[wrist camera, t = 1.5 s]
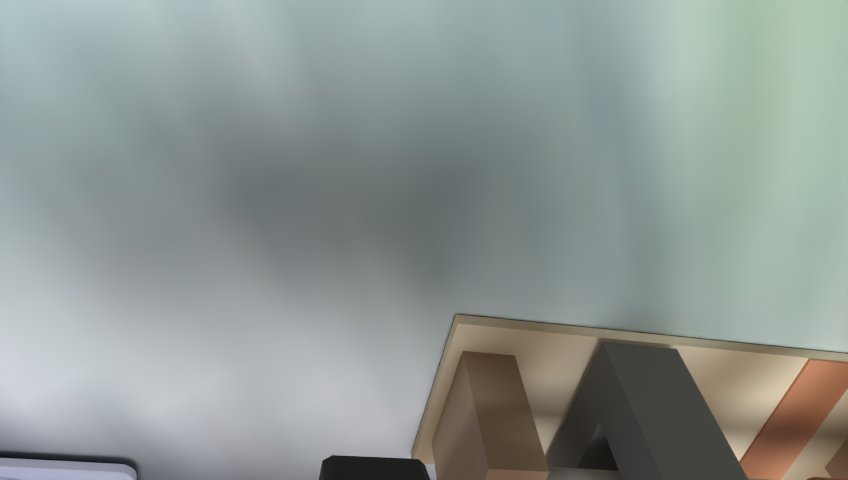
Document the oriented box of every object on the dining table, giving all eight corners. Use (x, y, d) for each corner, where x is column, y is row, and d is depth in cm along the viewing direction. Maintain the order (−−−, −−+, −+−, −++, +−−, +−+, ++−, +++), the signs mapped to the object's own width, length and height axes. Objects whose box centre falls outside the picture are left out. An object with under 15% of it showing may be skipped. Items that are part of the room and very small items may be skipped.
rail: (944, 363, 26) (1054, 481, 22) (851, 479, 29) (932, 599, 25) (455, 314, 22) (485, 445, 18) (411, 453, 25) (428, 589, 22)
